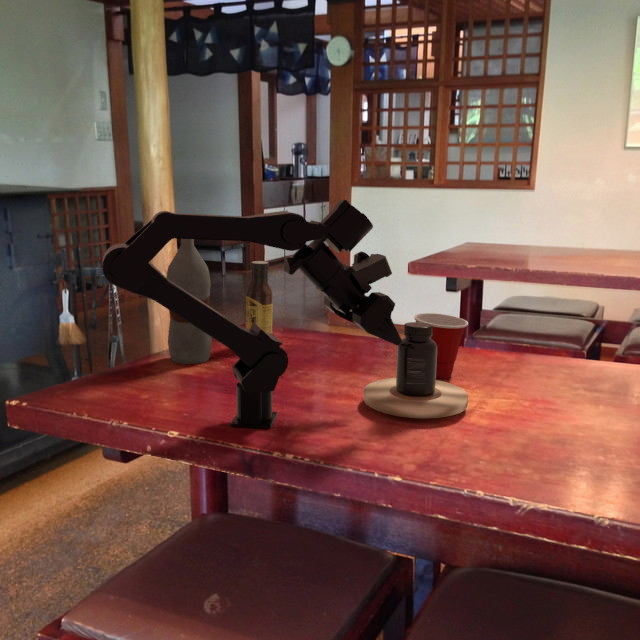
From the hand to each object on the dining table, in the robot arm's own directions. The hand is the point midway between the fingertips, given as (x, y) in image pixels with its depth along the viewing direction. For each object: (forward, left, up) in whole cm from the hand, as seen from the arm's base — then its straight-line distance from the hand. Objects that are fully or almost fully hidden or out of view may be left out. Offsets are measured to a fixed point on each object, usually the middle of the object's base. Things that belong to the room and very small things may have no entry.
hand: (388, 336), depth 113 cm
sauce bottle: (+40, +31, -13) cm, 52 cm away
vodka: (+25, +43, -13) cm, 52 cm away
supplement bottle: (+2, -5, -10) cm, 12 cm away
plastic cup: (+22, -10, -13) cm, 28 cm away
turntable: (+2, -5, -13) cm, 14 cm away
